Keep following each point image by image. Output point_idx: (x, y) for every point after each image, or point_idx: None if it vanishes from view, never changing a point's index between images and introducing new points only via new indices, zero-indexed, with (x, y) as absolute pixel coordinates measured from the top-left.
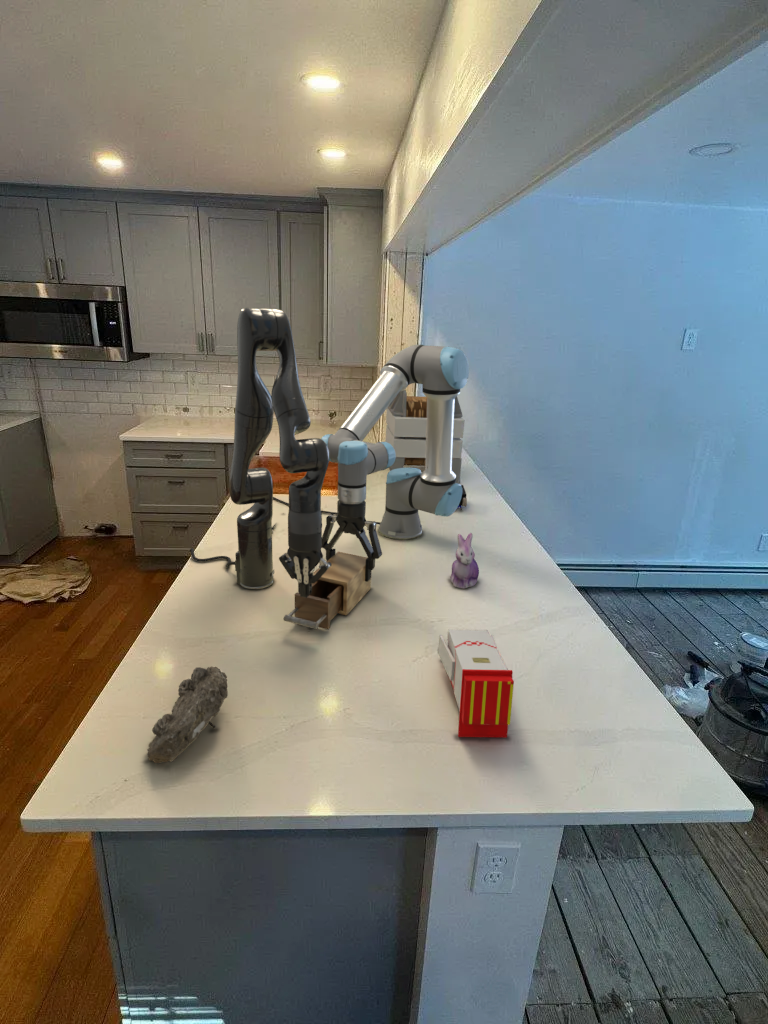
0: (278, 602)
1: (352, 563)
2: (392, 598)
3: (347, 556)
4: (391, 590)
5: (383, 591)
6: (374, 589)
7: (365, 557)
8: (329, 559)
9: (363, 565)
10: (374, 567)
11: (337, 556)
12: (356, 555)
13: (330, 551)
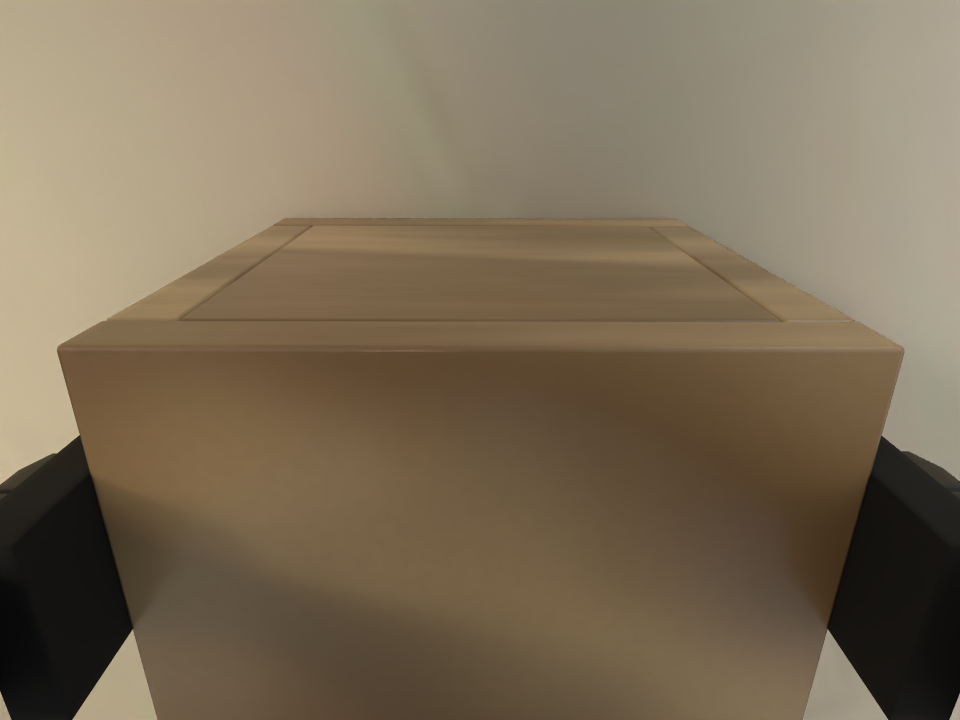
0: (100, 703)
1: (593, 680)
2: (934, 311)
3: (376, 480)
4: (907, 150)
5: (822, 212)
6: (718, 211)
7: (756, 375)
8: (164, 699)
9: (800, 674)
10: (925, 460)
11: (205, 556)
12: (531, 366)
13: (21, 686)
